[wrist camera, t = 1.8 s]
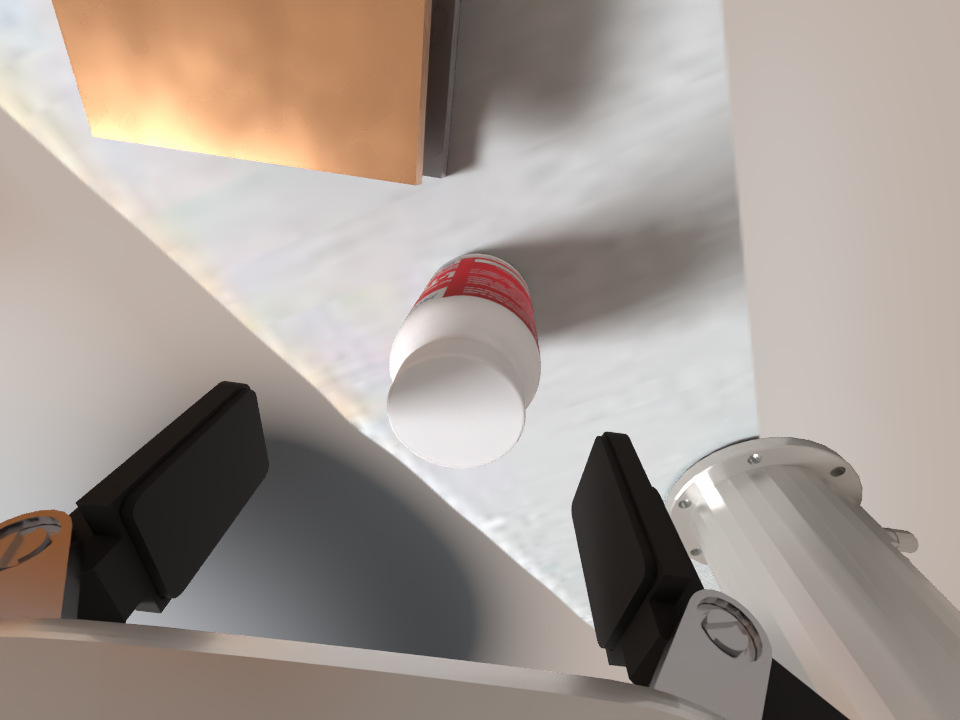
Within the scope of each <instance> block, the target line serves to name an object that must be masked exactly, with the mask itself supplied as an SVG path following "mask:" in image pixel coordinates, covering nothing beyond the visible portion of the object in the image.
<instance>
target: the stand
mask: <svg viewBox="0 0 960 720" xmlns="http://www.w3.org/2000/svg"><path fill="white" fill-rule="evenodd" d="M52 3H53V6H54V10H55V13H56V16H57V20H58V23H59V26H60V30H61V33H62V36H63V39H64V43H65V46H66V49H67V53H68V56H69V59H70V63H71V66H72V69H73V73H74V76H75V79H76V82H77V86H78V89H79V92H80V96H81V99H82V102H83V106H84V109H85V112H86V115H87V119H88V122H89V125H90V129H91V132H92V135H93V137H100V138H107V139H113V140H120V141H127V142H133V143H140V144H146V145H153V146H160V147H166V148H173V149H179V150H186V151H193V152H199V153H206V154H212V155H219V156H226V157H232V158H239V159H245V160H252V161H259V162H265V163H272V164H279V165H285V166H292V167H298V168H305V169H312V170H318V171H325V172H331V173H338V174H345V175H351V176H358V177H364V178H371V179H378V180H384V181H391V182H398V183H404V184H411V185H419V184H422V175H424V176H430V177H437V178H444V177H446V174H447V162H448V150H449V138H450V126H451V114H452V102H453V89H454V77H455V65H456V53H457V41H458V29H459V17H460V4H461V0H52Z"/></svg>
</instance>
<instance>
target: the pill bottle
mask: <svg viewBox="0 0 960 720" xmlns="http://www.w3.org/2000/svg"><path fill="white" fill-rule="evenodd" d="M540 373H541V361H540V351H539V345H538V339H537V333H536V327H535V321H534V314H533V307H532V300H531V296H530V292H529V289H528V286H527V284H526V282H525V281H524V279H523V277H522V276H521V275H520V273H519V272H518V271H517V270H516V269H515V268H514V267H513V266H511V265H510V264H509V263H507V262H506V261H504V260H502V259H500V258H498V257H495V256H491V255H486V254H467V255H463V256H459V257H457V258H455V259H452V260H451V261H449V262H447V263H446V264H445V265H443V266H442V267H441V268H440V269H439V270H438V271H437V272H436V273H435V274H434V276H433V277H432V279H431V280H430V282H429V283H428V285H427V286H426V288H425V290H424V291H423V292H422V294H421V296H420V297H419V299H418V300H417V302H416V303H415V305H414V307H413V308H412V310H411V311H410V313H409V315H408V316H407V318H406V319H405V321H404V322H403V324H402V326H401V327H400V329H399V331H398V333H397V335H396V337H395V340H394V342H393V345H392V349H391V354H390V375H391V379H392V383H393V384H392V386H391V388H390V391H389V394H388V399H387V413H388V418H389V422H390V424H391V427H392V429H393V431H394V433H395V434H396V436H397V437H398V439H399V440H400V441H401V442H402V443H403V444H404V445H405V446H406V447H407V448H408V449H409V450H410V451H412V452H413V453H414V454H416V455H417V456H419V457H421V458H423V459H425V460H427V461H429V462H431V463H434V464H437V465H441V466H445V467H450V468H472V467H479V466H483V465H486V464H489V463H491V462H494V461H496V460H497V459H499V458H501V457H502V456H504V455H505V454H506V453H508V452H509V451H510V450H511V449H512V448H513V447H514V445H515V444H516V443H517V441H518V440H519V438H520V436H521V434H522V432H523V428H524V424H525V410H526V408H527V407H528V406H529V404H530V403H531V401H532V400H533V398H534V396H535V394H536V391H537V388H538V385H539V380H540Z"/></svg>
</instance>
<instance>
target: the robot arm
mask: <svg viewBox="0 0 960 720" xmlns="http://www.w3.org/2000/svg"><path fill="white" fill-rule="evenodd" d="M268 468H269V462H268V457H267V451H266V445H265V440H264V435H263V429H262V424H261V418H260V413H259V408H258V402H257V397H256V394H255V392H254V391H253V390H251V389H250V387H249V386H248V385H247V384H243V383H235V382H228V381H223V382H221V383H219V384H218V385H217V386H215V387H214V388H213V389H212V390H210V391H209V392H208V393H207V394H205V395H204V396H203V397H202V398H201V399H200V400H198V401H197V402H196V403H195V404H193V405H192V406H191V407H190V408H189V409H188V410H186V411H185V412H184V413H183V414H181V416H179V417H178V418H177V419H175V420H174V421H173V422H172V423H171V424H169V426H167V427H166V428H165V429H163V430H162V431H161V432H160V433H159V434H157V435H156V436H155V437H154V438H153V439H151V440H150V441H149V442H148V443H147V444H145V445H144V446H143V447H142V448H141V449H139V450H138V451H137V452H136V453H135V454H133V455H132V456H131V457H130V458H129V459H127V460H126V461H125V462H124V463H123V464H121V466H119V467H118V468H117V469H115V470H114V471H113V472H112V473H111V474H109V475H108V476H107V477H106V478H105V479H103V480H102V481H101V482H100V483H99V484H97V485H96V486H95V487H94V488H93V489H91V490H90V491H89V492H88V493H87V494H85V495H84V496H83V497H82V498H81V499H79V500H78V501H77V502H76V504H77V506H78V508H76V510H74V511H73V512H72V513H71V514H70V515H68V514H66V513H65V512H62V511H57V510H40V511H35V512H31V513H26V514H23V515H20V516H17V517H14V518H12V519H9V520H6V521H4V522H2V523H0V720H960V611H959V610H958V609H957V608H956V607H955V606H954V605H953V604H952V603H951V602H949V600H948V599H947V598H946V597H945V596H944V595H943V594H942V593H941V592H940V591H939V590H938V589H937V588H935V586H934V585H933V584H932V583H931V582H929V580H928V579H927V578H926V577H925V576H924V575H923V574H922V573H921V572H920V571H919V570H918V569H917V568H916V567H915V566H914V565H913V564H912V563H911V562H910V560H909V559H908V558H907V557H905V556H904V555H903V554H902V553H901V552H900V551H902V552H908V553H912V552H915V551H916V550H917V548H918V542H917V539H916V538H915V536H914V535H913V534H911V533H910V532H908V531H904V530H897V529H890V528H882V527H881V526H880V525H879V524H878V523H877V522H876V521H875V520H874V519H873V518H872V517H871V516H870V515H869V514H868V513H867V512H866V511H865V510H864V509H863V508H862V507H861V506H860V503H861V501H862V485H861V482H860V479H859V476H858V474H857V473H856V472H855V470H854V469H853V468H852V466H851V465H850V464H849V463H848V462H846V461H845V460H844V459H843V458H842V457H841V456H840V455H838V454H837V453H836V452H834V451H833V450H831V449H829V448H828V447H826V446H824V445H822V444H819V443H816V442H813V441H809V440H805V439H798V438H791V437H780V438H779V437H770V438H763V439H756V440H750V441H746V442H742V443H739V444H735V445H731V446H729V447H726V448H724V449H722V450H719V451H717V452H714V453H712V454H711V455H709V456H707V457H706V458H704V459H702V460H700V461H699V462H697V463H696V464H695V465H693V466H692V467H691V468H690V469H688V470H687V471H686V472H685V473H684V474H683V475H682V476H681V477H680V478H679V479H678V481H677V482H676V483H675V484H674V486H673V487H672V489H671V491H670V492H669V494H668V496H667V499H666V503H665V505H664V503H663V500H662V498H661V496H660V494H659V493H658V491H657V489H655V488H654V487H652V486H651V484H650V482H649V480H648V477H647V475H646V473H645V471H644V469H643V467H642V464H641V462H640V460H639V458H638V456H637V453H636V451H635V449H634V447H633V445H632V443H631V440H630V438H629V437H628V435H626V434H621V433H613V432H605V433H604V434H603V435H602V436H597V437H596V439H595V441H594V444H593V447H592V450H591V452H590V455H589V458H588V461H587V463H586V466H585V469H584V472H583V474H582V477H581V480H580V483H579V485H578V488H577V491H576V494H575V496H574V499H573V502H572V519H573V523H574V528H575V533H576V538H577V543H578V548H579V553H580V558H581V563H582V568H583V573H584V578H585V582H586V587H587V592H588V597H589V602H590V607H591V612H592V617H593V622H594V627H595V632H596V637H597V641H598V644H599V646H600V647H601V648H605V649H606V653H607V657H608V662H609V665H615V666H624V667H626V668H627V672H628V676H629V679H630V680H631V681H632V682H633V683H632V684H629V683H624V682H619V681H614V680H609V679H602V678H594V677H587V676H580V675H573V674H566V673H558V672H551V671H544V670H537V669H528V668H520V667H512V666H504V665H495V664H486V663H479V662H470V661H461V660H453V659H445V658H437V657H428V656H420V655H411V654H402V653H394V652H385V651H376V650H367V649H359V648H350V647H341V646H332V645H324V644H315V643H306V642H297V641H288V640H279V639H270V638H260V637H251V636H243V635H233V634H224V633H215V632H205V631H196V630H186V629H178V628H169V627H159V626H148V625H137V624H126V620H127V618H128V617H129V616H130V615H131V614H132V612H133V611H134V610H135V609H136V610H137V611H145V612H154V613H162V611H163V610H164V608H165V607H166V606H167V604H168V603H169V602H170V600H171V598H176V597H178V596H179V595H180V594H181V593H182V592H183V591H184V590H185V588H186V587H187V586H188V584H189V583H190V581H191V580H192V579H193V577H194V576H195V574H196V573H197V572H198V570H199V569H200V567H201V566H202V565H203V563H204V561H205V560H206V559H207V557H208V556H209V555H210V553H211V552H212V550H213V549H214V548H215V546H216V545H217V544H218V542H219V541H220V539H221V538H222V536H223V535H224V533H225V532H226V531H227V530H228V528H229V527H230V525H231V524H232V522H233V521H234V520H235V518H236V517H237V516H238V514H239V513H240V511H241V510H242V508H243V507H244V506H245V504H246V503H247V502H248V500H249V499H250V497H251V496H252V495H253V493H254V492H255V490H256V489H257V487H258V486H259V485H260V483H261V482H262V481H263V479H264V478H265V476H266V474H267V472H268ZM689 557H690V558H692V559H694V560H696V561H698V562H700V563H703V564H706V565H708V566H709V568H710V570H711V572H712V574H713V576H714V578H715V580H716V582H717V584H718V586H719V588H720V590H721V592H722V593H721V592H718V591H715V590H706V589H704V587H703V585H702V583H701V581H700V579H699V577H698V575H697V572H696V570H695V568H694V566H693V564H692V562H691V560H690V558H689Z"/></svg>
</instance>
